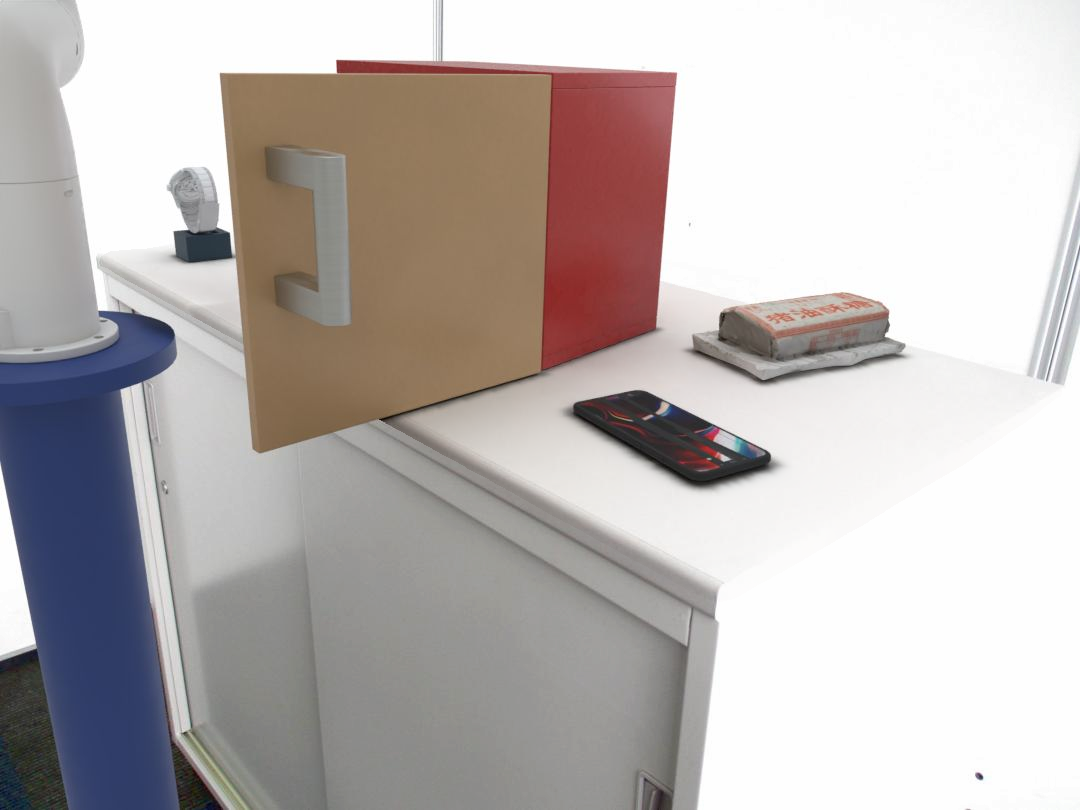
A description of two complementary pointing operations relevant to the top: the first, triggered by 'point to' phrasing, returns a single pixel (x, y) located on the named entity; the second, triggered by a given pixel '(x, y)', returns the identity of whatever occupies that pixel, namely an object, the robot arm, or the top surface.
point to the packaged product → (800, 334)
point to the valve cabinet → (592, 197)
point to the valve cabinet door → (384, 240)
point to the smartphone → (672, 435)
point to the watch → (198, 216)
